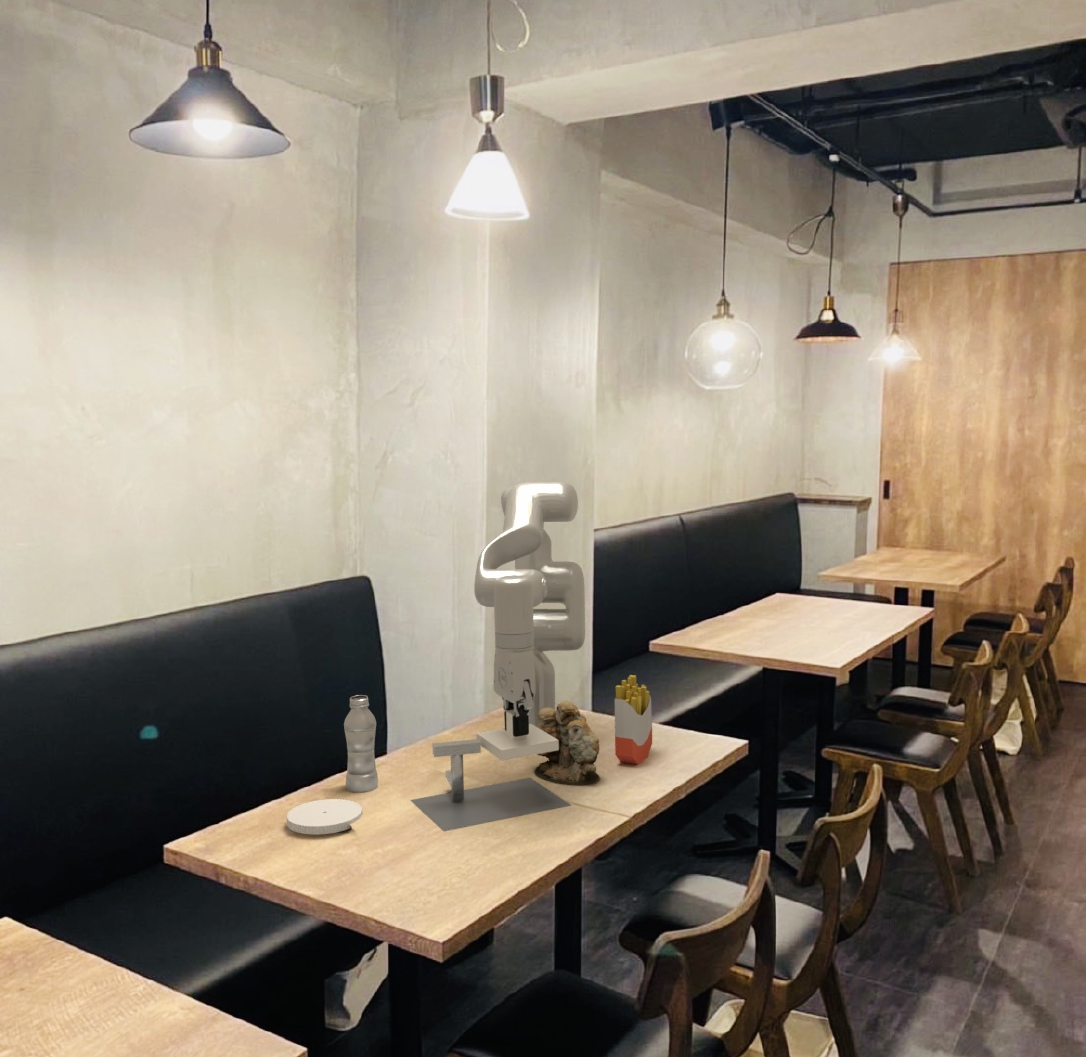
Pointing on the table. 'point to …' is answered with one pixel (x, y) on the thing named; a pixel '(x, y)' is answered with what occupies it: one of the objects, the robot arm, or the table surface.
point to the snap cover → (516, 741)
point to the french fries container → (632, 722)
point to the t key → (456, 762)
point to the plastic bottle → (360, 746)
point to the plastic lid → (323, 816)
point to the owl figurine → (568, 747)
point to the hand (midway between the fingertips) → (516, 731)
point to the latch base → (489, 804)
